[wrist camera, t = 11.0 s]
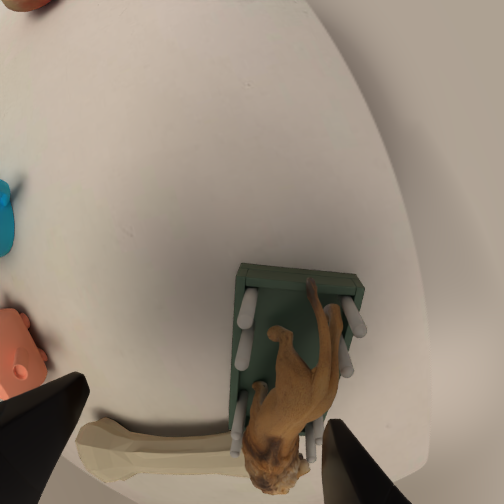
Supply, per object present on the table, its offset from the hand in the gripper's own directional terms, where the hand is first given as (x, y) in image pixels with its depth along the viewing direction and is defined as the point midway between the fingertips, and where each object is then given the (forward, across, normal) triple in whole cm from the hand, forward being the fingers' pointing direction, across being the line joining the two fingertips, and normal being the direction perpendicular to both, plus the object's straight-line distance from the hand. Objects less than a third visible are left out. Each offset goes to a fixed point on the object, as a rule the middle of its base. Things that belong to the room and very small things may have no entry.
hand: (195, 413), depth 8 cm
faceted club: (+12, +6, +20) cm, 24 cm away
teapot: (+12, +26, +12) cm, 31 cm away
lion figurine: (+11, -4, +6) cm, 13 cm away
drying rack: (+12, -4, +6) cm, 14 cm away
